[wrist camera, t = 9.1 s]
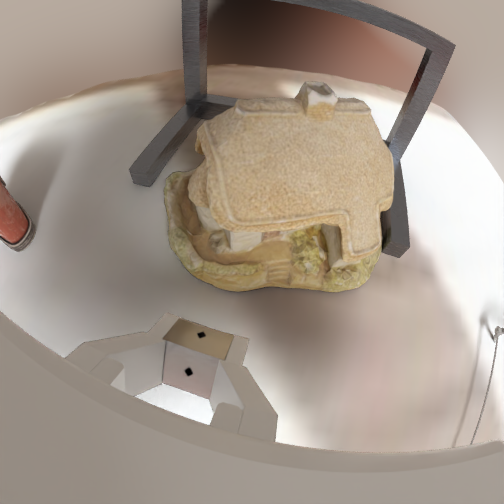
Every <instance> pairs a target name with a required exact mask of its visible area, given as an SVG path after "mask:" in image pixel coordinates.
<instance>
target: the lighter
mask: <svg viewBox="0 0 504 504" xmlns="http://www.w3.org/2000/svg"><path fill="white" fill-rule="evenodd" d="M5 186H6V184H5V182H4V181H3V179H2V178H1V176H0V239H1V240H2V241H3V242H4V243H5V244H6V245H7V246H8V247H10V248H11V249H13V250H15V251H16V252H21V251H23V250H24V249H26V248H27V247H28V246H29V245H30V243H31V242H32V240H33V239H34V236H35V232H36V228H35V225H34V224H33V222H32V220H31V218H30V217H29V215H28V214H27V213H26V211H25V210H24V209H23V208H22V207H21V205H20V204H19V203H17V202H16V201H15V200H14V199H13V198H12V196H11V195H10V194H9V192H8V191H7V189H6V188H5Z"/></svg>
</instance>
